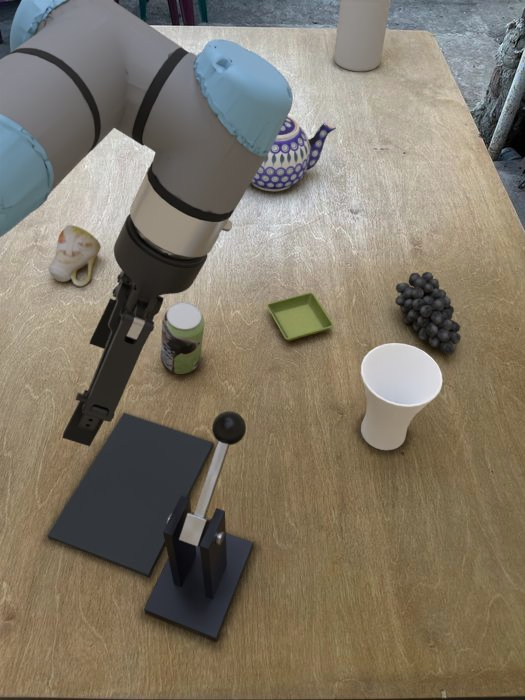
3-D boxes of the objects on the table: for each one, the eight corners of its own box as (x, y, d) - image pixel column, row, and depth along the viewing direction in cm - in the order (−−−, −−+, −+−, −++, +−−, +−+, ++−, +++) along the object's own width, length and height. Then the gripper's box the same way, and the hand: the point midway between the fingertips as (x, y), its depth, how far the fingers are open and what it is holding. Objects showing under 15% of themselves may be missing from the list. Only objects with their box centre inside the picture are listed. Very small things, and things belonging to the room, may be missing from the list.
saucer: (264, 312, 105) (265, 303, 104) (311, 299, 108) (312, 290, 106) (285, 348, 100) (285, 339, 99) (333, 334, 102) (335, 326, 101)
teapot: (216, 202, 125) (214, 135, 114) (210, 161, 135) (207, 95, 123) (338, 195, 128) (347, 129, 117) (323, 155, 137) (331, 90, 126)
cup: (421, 409, 93) (444, 350, 83) (417, 470, 86) (441, 414, 76) (352, 396, 94) (365, 336, 84) (342, 454, 88) (355, 396, 77)
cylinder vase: (389, 62, 168) (408, -43, 149) (360, 77, 162) (377, -30, 143) (352, 47, 174) (366, -56, 155) (324, 61, 168) (335, -44, 149)
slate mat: (48, 538, 78) (47, 535, 78) (124, 415, 91) (123, 412, 90) (149, 577, 76) (148, 574, 75) (213, 445, 88) (213, 442, 87)
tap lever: (222, 409, 69) (215, 404, 66) (252, 418, 68) (247, 415, 65) (179, 535, 67) (170, 537, 63) (210, 546, 66) (202, 549, 63)
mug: (39, 284, 108) (34, 226, 105) (80, 275, 116) (77, 221, 113) (70, 290, 105) (66, 230, 102) (110, 280, 113) (108, 225, 110)
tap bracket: (187, 523, 80) (179, 459, 68) (253, 547, 78) (256, 486, 66) (145, 613, 73) (127, 559, 61) (216, 642, 71) (212, 592, 59)
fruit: (476, 323, 92) (432, 256, 102) (424, 344, 93) (384, 276, 102) (476, 354, 99) (435, 289, 108) (427, 374, 100) (390, 307, 109)
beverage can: (174, 342, 100) (168, 288, 91) (214, 358, 98) (212, 305, 89) (153, 369, 97) (144, 315, 87) (194, 387, 95) (190, 333, 86)
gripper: (202, 345, 45) (104, 499, 57) (215, 183, 63) (139, 325, 76) (101, 307, 42) (21, 476, 55) (146, 149, 61) (79, 302, 73)
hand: (90, 389), depth 65 cm, fingers open, 13 cm apart
